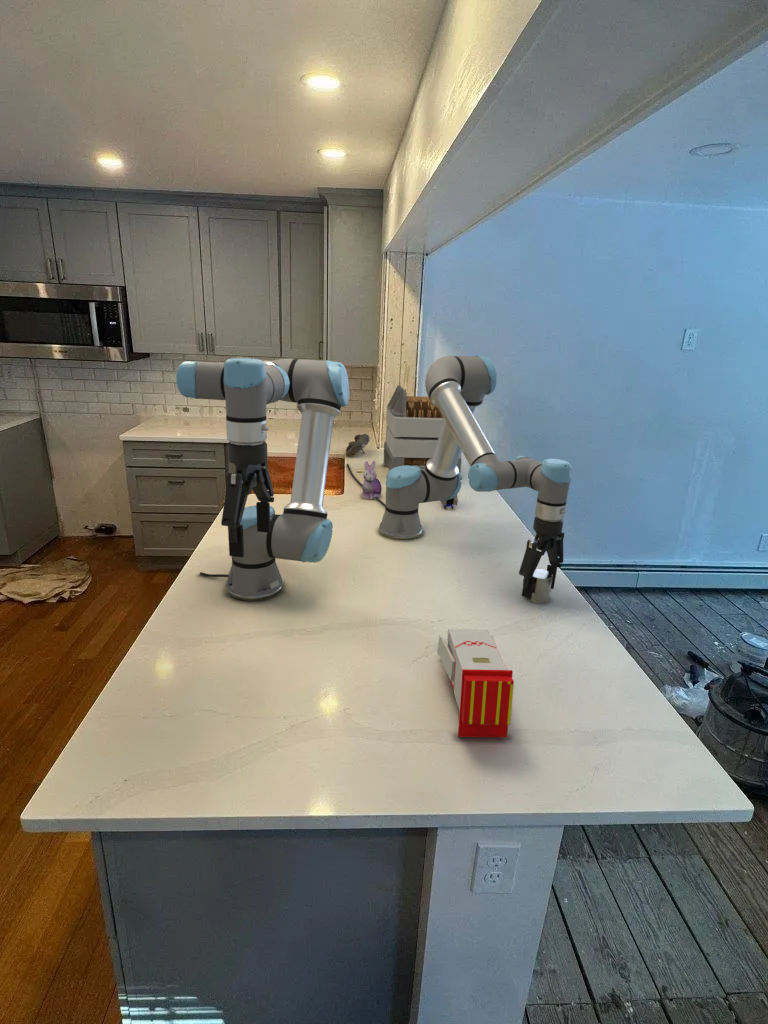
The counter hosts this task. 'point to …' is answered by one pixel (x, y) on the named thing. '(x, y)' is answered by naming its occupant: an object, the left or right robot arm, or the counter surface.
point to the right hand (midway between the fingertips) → (537, 592)
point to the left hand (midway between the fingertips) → (251, 543)
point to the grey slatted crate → (411, 430)
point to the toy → (478, 682)
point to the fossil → (357, 445)
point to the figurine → (371, 482)
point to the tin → (541, 586)
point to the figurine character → (450, 502)
